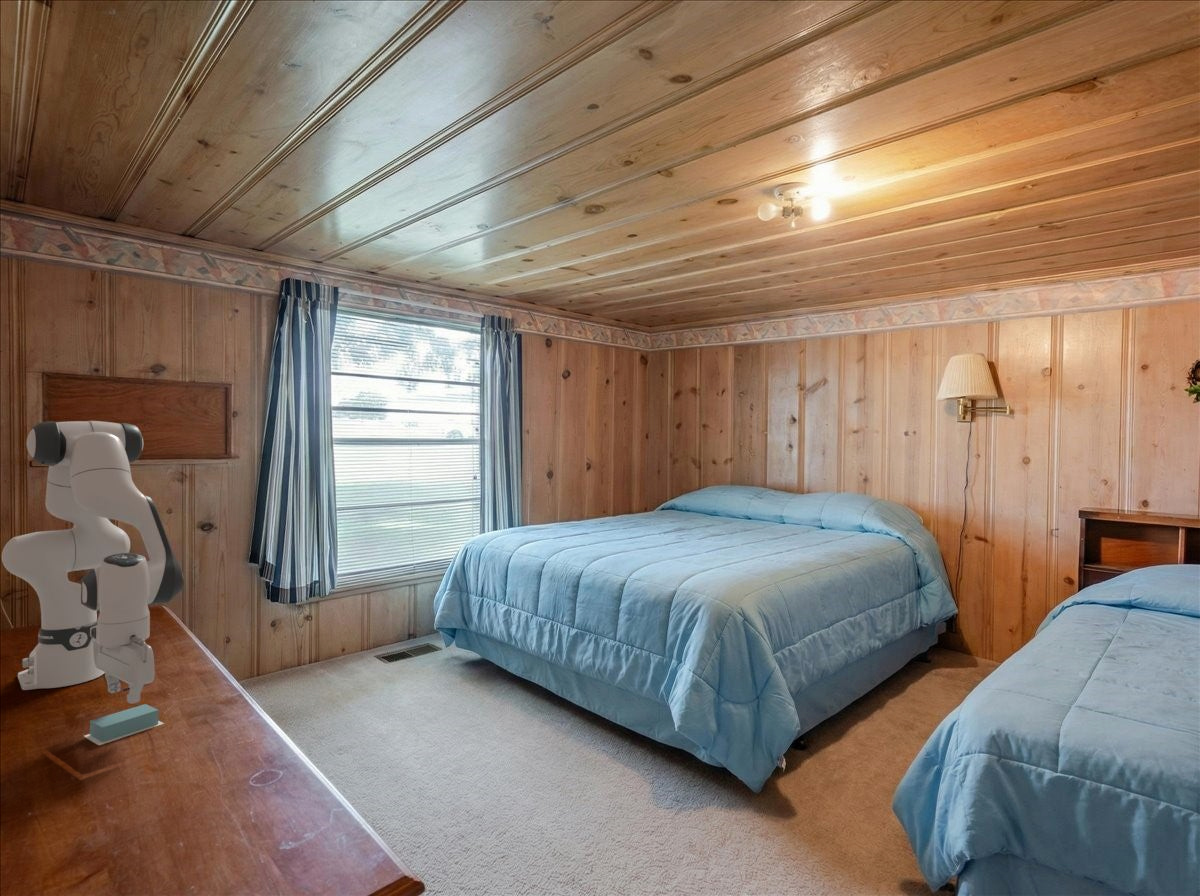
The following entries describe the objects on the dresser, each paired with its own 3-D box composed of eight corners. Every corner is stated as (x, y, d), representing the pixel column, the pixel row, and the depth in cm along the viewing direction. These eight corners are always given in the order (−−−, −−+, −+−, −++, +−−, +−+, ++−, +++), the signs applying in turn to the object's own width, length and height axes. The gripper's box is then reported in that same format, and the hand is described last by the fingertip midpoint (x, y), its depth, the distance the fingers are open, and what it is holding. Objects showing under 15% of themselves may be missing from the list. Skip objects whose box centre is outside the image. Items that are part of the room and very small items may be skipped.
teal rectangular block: (145, 717, 138) (145, 703, 138) (158, 723, 134) (158, 709, 134) (90, 735, 129) (90, 720, 129) (102, 742, 126) (102, 727, 126)
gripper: (163, 636, 129) (163, 703, 129) (121, 620, 140) (120, 681, 140) (128, 645, 124) (127, 714, 124) (86, 627, 135) (86, 691, 135)
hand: (123, 697), depth 132 cm, fingers open, 8 cm apart
